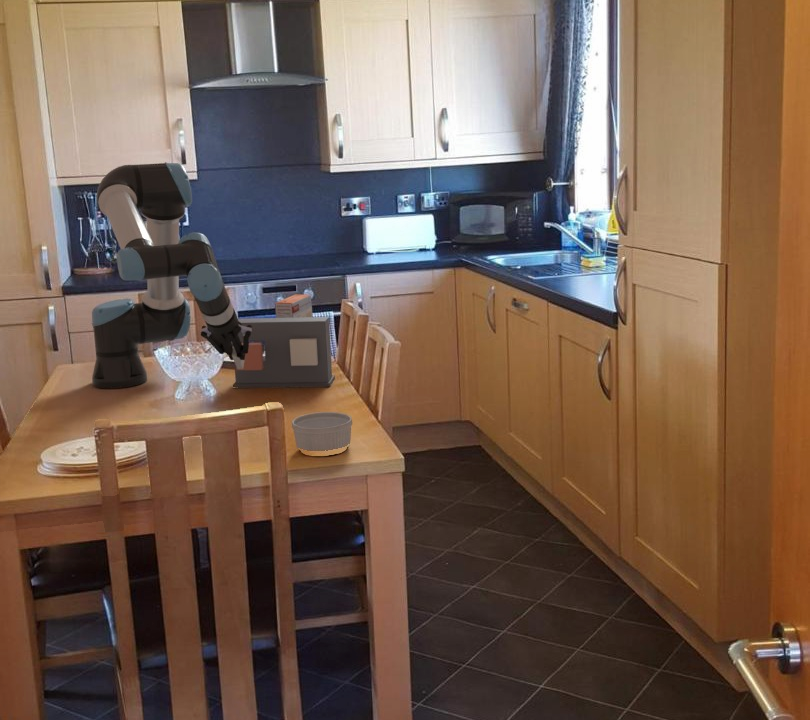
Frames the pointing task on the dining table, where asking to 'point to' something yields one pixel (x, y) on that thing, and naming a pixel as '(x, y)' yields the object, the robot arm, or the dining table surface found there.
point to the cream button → (303, 352)
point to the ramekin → (322, 431)
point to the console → (287, 353)
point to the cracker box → (294, 307)
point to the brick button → (254, 356)
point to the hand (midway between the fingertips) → (241, 364)
